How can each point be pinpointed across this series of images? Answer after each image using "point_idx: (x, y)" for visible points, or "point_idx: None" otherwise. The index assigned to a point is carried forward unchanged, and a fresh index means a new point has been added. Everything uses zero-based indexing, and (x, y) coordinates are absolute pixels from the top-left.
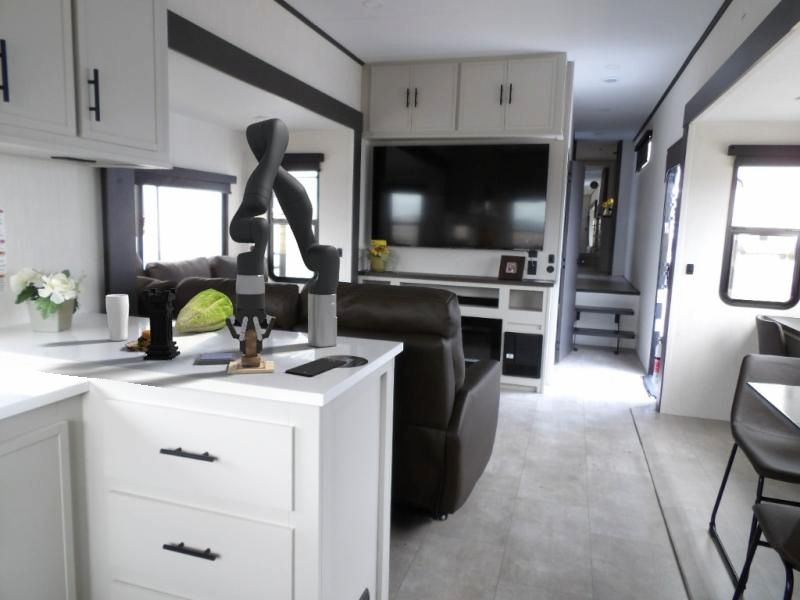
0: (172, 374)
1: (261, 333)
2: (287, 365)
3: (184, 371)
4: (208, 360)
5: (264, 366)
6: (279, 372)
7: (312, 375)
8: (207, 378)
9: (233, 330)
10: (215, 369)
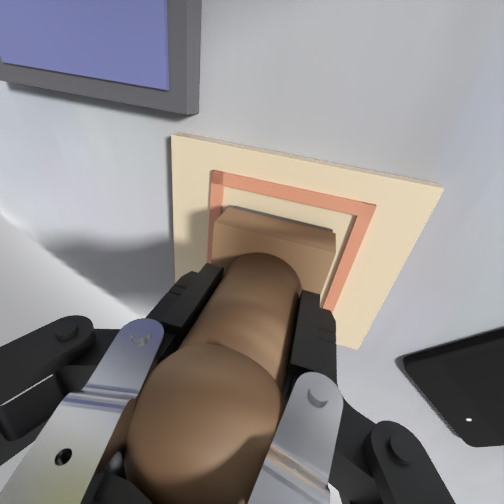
0: (11, 221)
1: (327, 450)
2: (494, 261)
3: (28, 195)
4: (53, 88)
5: (328, 307)
6: (379, 348)
7: (476, 445)
8: (128, 306)
9: (25, 440)
10: (128, 206)
